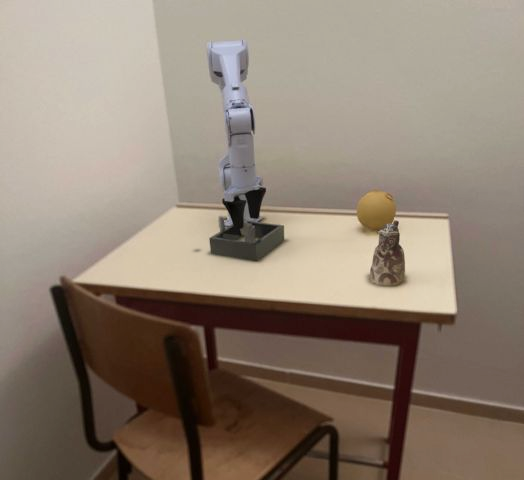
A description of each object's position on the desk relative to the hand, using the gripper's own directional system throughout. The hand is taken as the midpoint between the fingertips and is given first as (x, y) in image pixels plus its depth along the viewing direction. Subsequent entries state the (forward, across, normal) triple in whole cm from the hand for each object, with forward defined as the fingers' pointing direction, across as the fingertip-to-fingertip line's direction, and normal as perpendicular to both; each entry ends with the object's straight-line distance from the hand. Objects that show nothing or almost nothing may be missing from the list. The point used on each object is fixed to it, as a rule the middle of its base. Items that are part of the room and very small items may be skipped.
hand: (246, 222), depth 126 cm
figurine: (+6, -5, -37) cm, 38 cm away
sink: (+6, 0, 0) cm, 6 cm away
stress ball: (+6, +23, -25) cm, 35 cm away
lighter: (+6, 0, 0) cm, 6 cm away
